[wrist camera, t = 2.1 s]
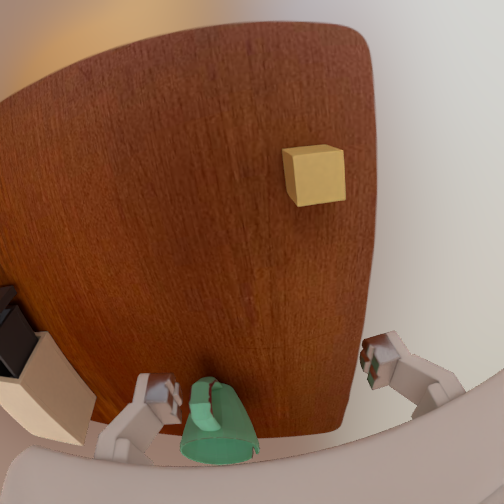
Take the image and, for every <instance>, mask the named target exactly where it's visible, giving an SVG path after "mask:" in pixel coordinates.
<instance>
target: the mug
mask: <svg viewBox="0 0 504 504" xmlns="http://www.w3.org/2000/svg"><path fill="white" fill-rule="evenodd" d="M189 409H190V414H189V416H188V419H187V422H186V425H185V428H184V432H183V436H182V440H181V443H180V451H181V453H182V454H183V455H184V456H185V457H187V458H188V459H191V460H193V461H196V462H200V463H205V464H216V465H223V464H234V463H240V462H244V461H247V460H249V459H251V458H252V457H253V448H254V449H255V452H256V454H258V453H259V449H260V448H259V442H258V439H257V437H256V434H255V431H254V428H253V426H252V423H251V421H250V419H249V416H248V414H247V412H246V410H245V408H244V406H243V404H242V402H241V401H240V399H239V397H238V396H237V394H236V392H235V391H234V389H233V388H232V387H231V386H229V385H227V384H224V383H219V382H218V380H217V379H216V378H214V377H204V378H201V379H199V380H198V381H197V382H196V383H194V384H193V385H192V386H191V389H190V397H189Z"/></svg>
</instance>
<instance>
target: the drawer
mask: <svg viewBox="0 0 504 504" xmlns="http://www.w3.org/2000/svg"><path fill="white" fill-rule="evenodd" d="M16 294H17V292H16V290H15V288H14V286H13V285H11V286H7V287H2V288H0V376H2V377H8V378H16V379H19V377H20V375H21V373H22V371H23V369H24V367H25V365H26V363H27V361H28V359H29V357H30V356H31V354H32V352H33V350H34V348H35V346H36V345H37V343H38V341H39V339H38V338H37V336H36V334H35V333H34V331H33V330H32V328H31V327H30V325H29V323H28V322H27V320H26V319H25V317H24V315H23V314H22V312H21V310H20V308H19V307H18V305H12V306H7V305H8V304H9V302H10V301H11V300H12V299H13V297H14V296H15V295H16Z"/></svg>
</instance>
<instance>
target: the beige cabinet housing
mask: <svg viewBox="0 0 504 504" xmlns="http://www.w3.org/2000/svg"><path fill="white" fill-rule="evenodd" d="M34 333H35V334H36V336H37V338H38V339H39V341H38V343H37V345H36V346H35V348H34V350H33V352H32V354H31V356H30V357H29V359H28V361H27V363H26V365H25V367H24V369H23V371H22V373H21V375H20V377H19V379H16V378H8V377H2V376H0V405H1V406H2V407H3V408H4V409H5V410H6V411H7V412H8V413H9V414H10V415H11V416H12V417H13V418H14V419H15V420H16V421H17V422H18V423H19V424H21V425H22V426H23V427H24V428H25V429H27V431H29V432H30V433H31V434H32V435H36V436H40V437H43V438H47V439H52V440H56V441H61V442H66V443H70V444H76V445H82V446H84V443H85V438H86V434H87V430H88V426H89V422H90V418H91V415H92V411H93V407H94V404H95V401H96V396H95V395H94V393H93V392H92V391H91V390H90V389H89V387H88V386H87V385H86V384H85V382H84V381H83V380H82V379H81V377H80V376H79V375H78V374H77V372H76V371H75V370H74V368H73V367H72V366H71V364H70V363H69V362H68V360H67V359H66V357H65V356H64V355H63V353H62V352H61V350H60V349H59V347H58V346H57V344H56V343H55V341H54V340H53V338H52V337H51V335H50V334H49V332H48V331H46V332H34Z"/></svg>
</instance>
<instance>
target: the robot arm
mask: <svg viewBox="0 0 504 504" xmlns="http://www.w3.org/2000/svg"><path fill="white" fill-rule="evenodd" d="M362 347H363V350H362V351H361V352H360V364H361V367H362V369H363V372H365V373H367V374H368V378H367V380H368V382H369V384H370V386H371V388H372V390H374V389H378V388H381V387H384V386H387V385H389V386H390V387H391V388H393V389H394V390H396V391H397V392H399V393H400V394H401V395H403V396H404V397H406V398H407V399H409V400H410V401H411V402H413V403H414V404H416V405H417V407H416V409H415V411H414V412H413V414H412V416H411V417H412V420H410V421H408V422H405V423H403V424H401V425H398V426H396V427H393V428H390V429H388V430H385V431H382V432H380V433H377V434H374V435H371V436H368V437H365V438H362V439H359V440H356V441H353V442H350V443H346V444H342V445H339V446H335V447H332V448H328V449H324V450H320V451H315V452H311V453H306V454H302V455H297V456H291V457H286V458H280V459H274V460H267V461H260V462H252V463H244V464H233V465H218V466H192V467H188V466H185V467H184V466H182V467H181V466H179V467H178V466H153V461H152V460H151V459H150V458H148V457H147V456H146V455H145V454H144V453H145V451H146V450H147V448H148V447H149V446H150V444H151V443H152V441H153V440H154V438H155V437H156V436H157V434H158V433H159V431H160V430H161V428H162V427H163V424H181V420H182V410H181V409H180V405H181V404H182V403H183V394H182V389H181V386H180V384H179V383H178V382H176V381H175V380H176V377H175V375H174V373H172V372H171V373H142V374H139V376H138V379H137V383H136V388H135V392H134V397H133V402H132V403H129V404H128V405H127V406H126V407H125V408H124V409H123V410H122V411H121V413H120V414H119V415H118V416H117V417H116V418H115V419H114V420H113V421H112V422H111V423H110V424H109V425H108V426H107V427H106V428H105V429H104V430H103V431H102V432H101V433H100V434H99V436H98V440H97V445H96V450H95V454H94V459H93V458H87V457H82V456H77V455H73V454H68V453H64V452H60V451H56V450H52V449H48V448H45V447H41V446H38V445H32V446H30V447H28V448H27V449H25V450H24V451H23V452H22V453H21V454H20V455H18V456H17V457H16V458H15V459H14V460H13V461H12V463H11V464H10V467H9V469H8V472H7V474H6V478H5V481H4V484H3V488H2V492H1V497H0V504H504V369H503V370H501V371H500V372H498V373H497V374H495V375H494V376H492V377H491V378H489V379H488V380H486V381H485V382H483V383H481V384H480V385H478V386H476V387H475V388H473V389H471V390H470V391H468V392H466V391H465V390H464V388H463V387H462V385H461V383H460V382H459V380H458V379H457V377H456V376H455V374H454V373H452V372H450V371H448V370H446V369H444V368H442V367H440V366H438V365H436V364H434V363H431V362H430V361H428V360H426V359H423V358H421V357H419V356H417V355H415V354H413V355H411V353H410V352H409V350H408V349H407V347H406V346H405V344H404V343H403V341H402V340H401V338H400V337H399V335H398V334H397V332H396V331H391V332H387V333H384V334H380V335H377V336H373V337H370V338H367V339H364V340H363V342H362Z"/></svg>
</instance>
